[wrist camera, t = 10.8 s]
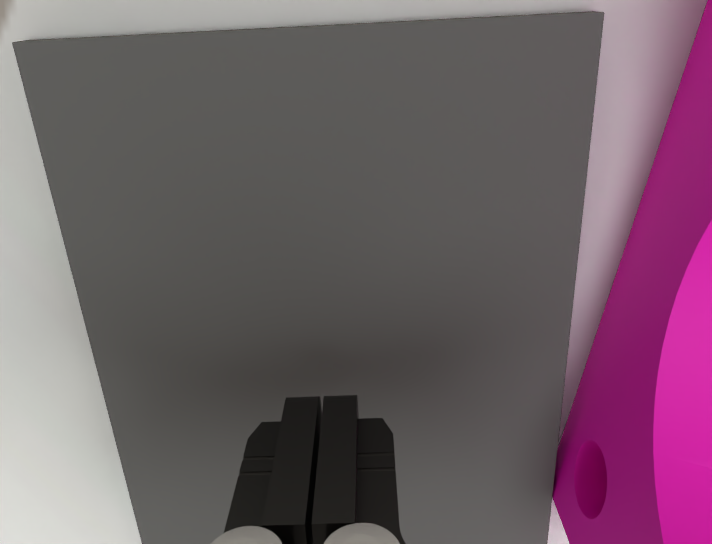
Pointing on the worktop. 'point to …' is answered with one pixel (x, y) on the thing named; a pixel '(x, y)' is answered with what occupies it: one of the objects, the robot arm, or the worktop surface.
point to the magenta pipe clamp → (653, 353)
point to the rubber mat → (328, 249)
